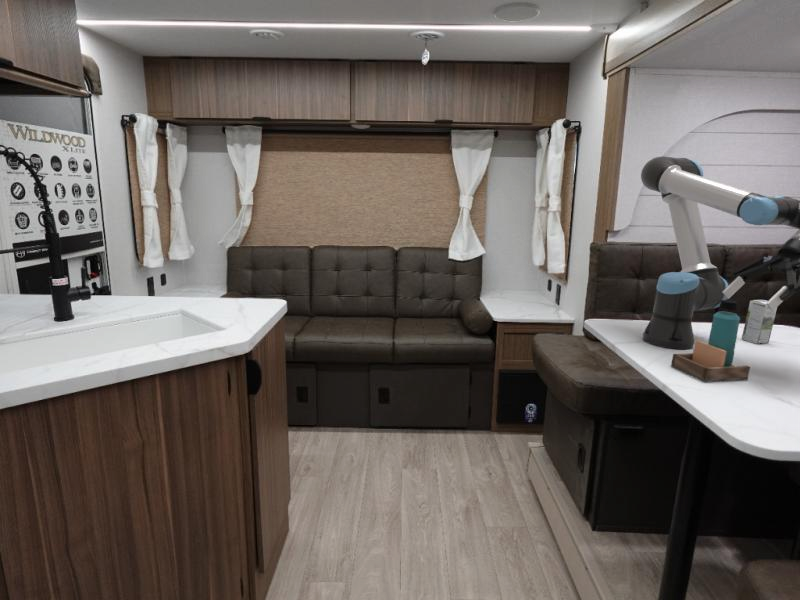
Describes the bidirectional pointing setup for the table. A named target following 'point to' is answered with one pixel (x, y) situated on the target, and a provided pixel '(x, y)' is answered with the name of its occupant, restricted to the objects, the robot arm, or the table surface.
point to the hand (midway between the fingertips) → (746, 301)
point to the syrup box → (758, 322)
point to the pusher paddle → (708, 355)
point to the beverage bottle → (725, 330)
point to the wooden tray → (708, 370)
